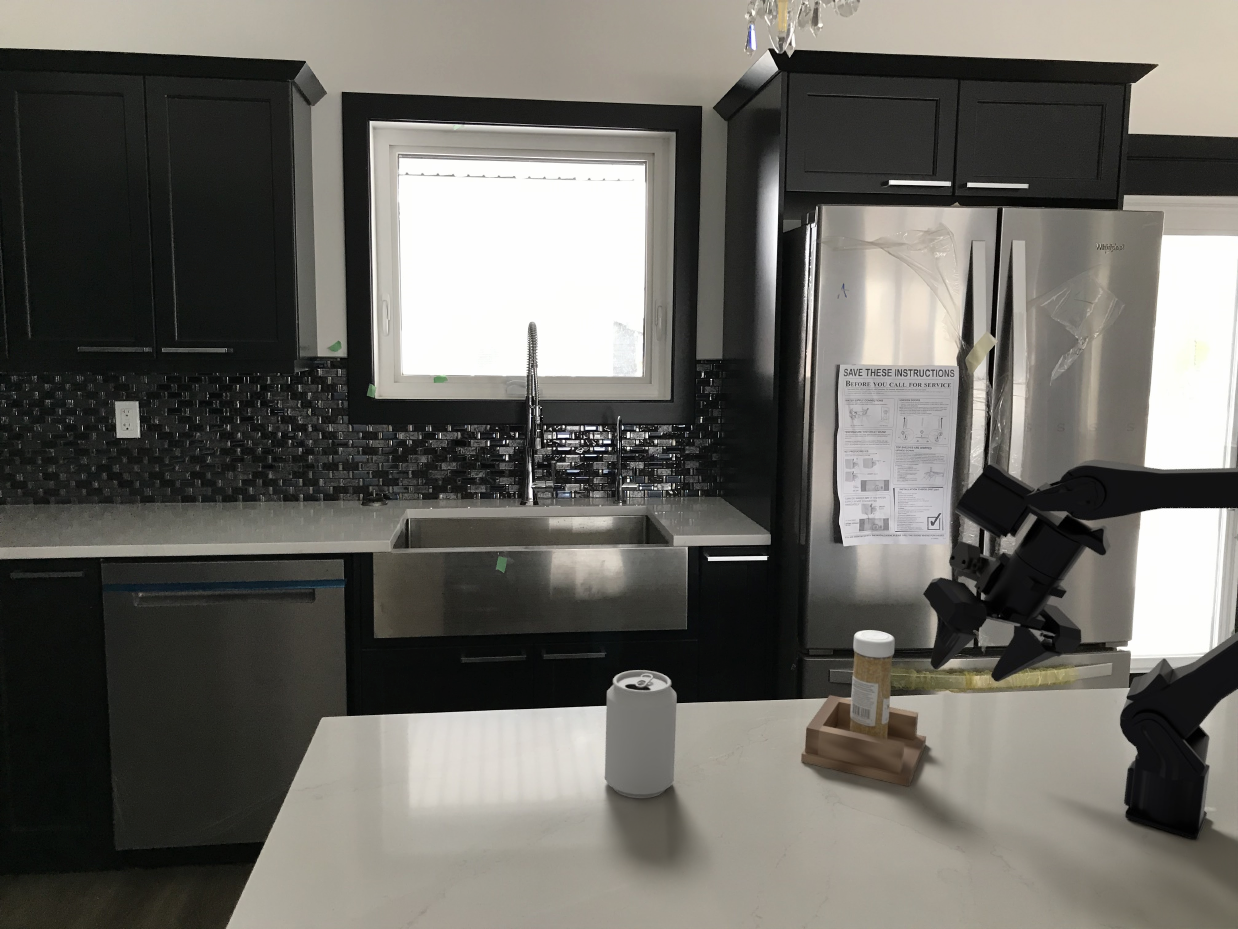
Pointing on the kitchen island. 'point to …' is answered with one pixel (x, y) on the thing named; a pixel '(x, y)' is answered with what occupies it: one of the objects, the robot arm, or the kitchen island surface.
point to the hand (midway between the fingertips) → (964, 673)
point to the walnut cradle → (864, 744)
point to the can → (640, 734)
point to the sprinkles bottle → (871, 683)
